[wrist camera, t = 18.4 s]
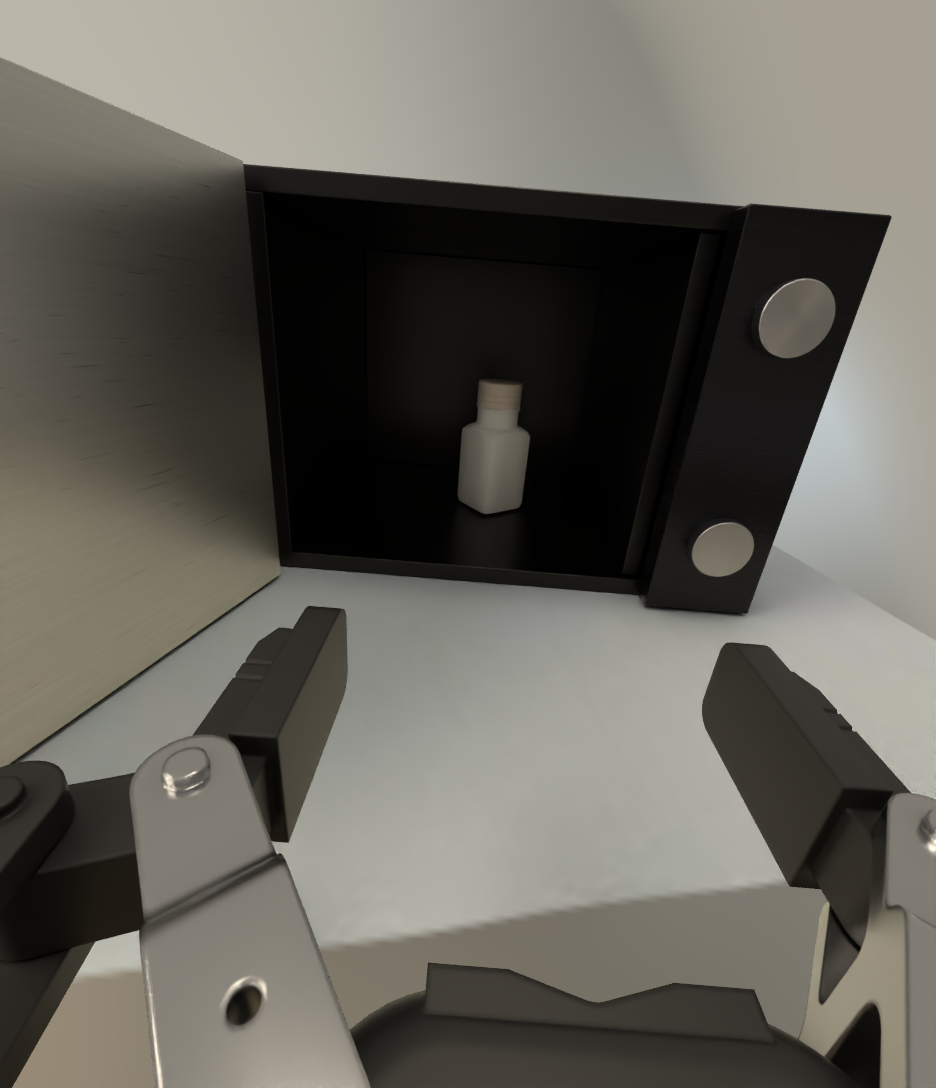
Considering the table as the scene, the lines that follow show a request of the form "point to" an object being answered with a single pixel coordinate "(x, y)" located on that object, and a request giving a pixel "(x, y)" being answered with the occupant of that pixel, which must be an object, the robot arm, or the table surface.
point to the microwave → (545, 375)
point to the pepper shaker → (494, 450)
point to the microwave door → (119, 401)
